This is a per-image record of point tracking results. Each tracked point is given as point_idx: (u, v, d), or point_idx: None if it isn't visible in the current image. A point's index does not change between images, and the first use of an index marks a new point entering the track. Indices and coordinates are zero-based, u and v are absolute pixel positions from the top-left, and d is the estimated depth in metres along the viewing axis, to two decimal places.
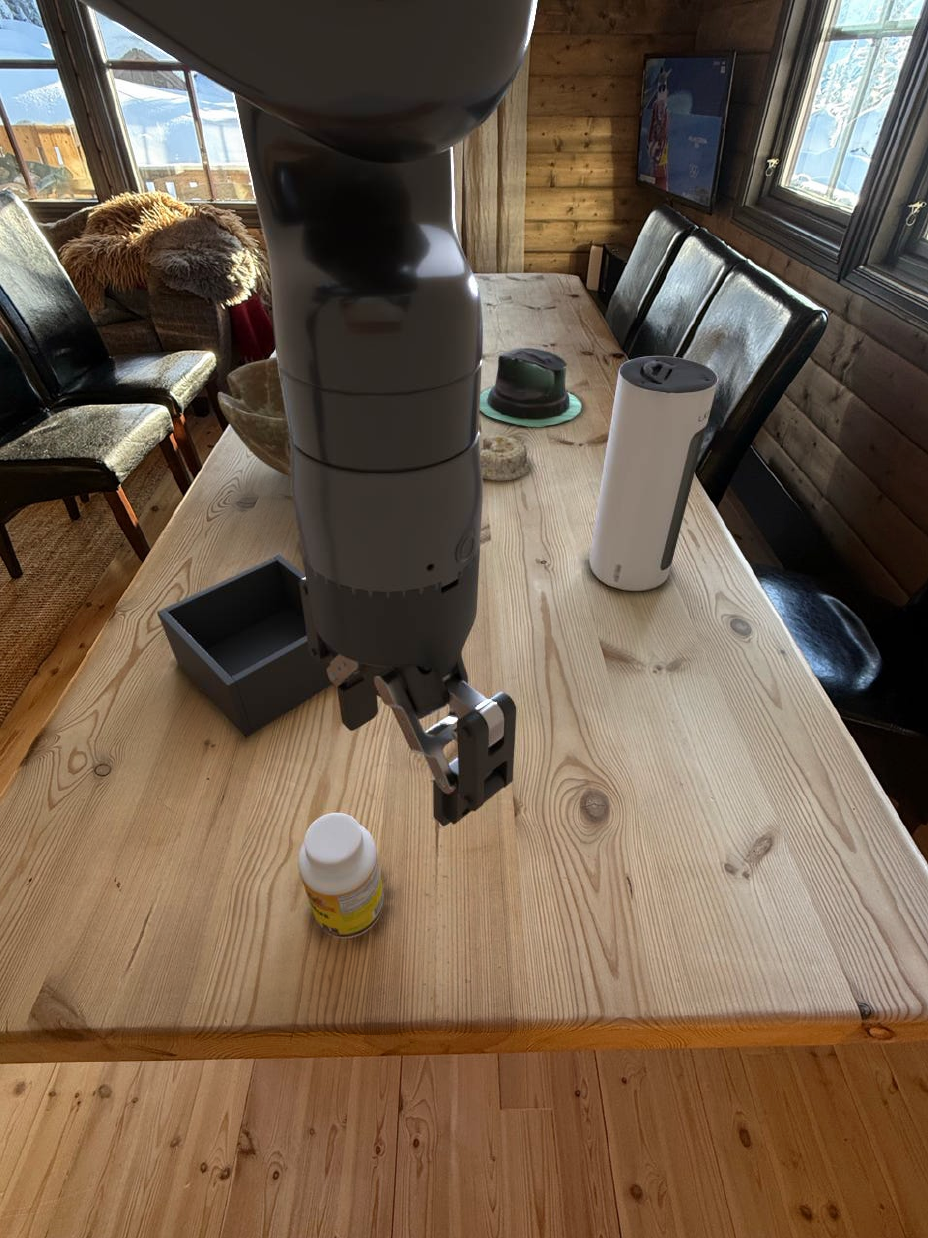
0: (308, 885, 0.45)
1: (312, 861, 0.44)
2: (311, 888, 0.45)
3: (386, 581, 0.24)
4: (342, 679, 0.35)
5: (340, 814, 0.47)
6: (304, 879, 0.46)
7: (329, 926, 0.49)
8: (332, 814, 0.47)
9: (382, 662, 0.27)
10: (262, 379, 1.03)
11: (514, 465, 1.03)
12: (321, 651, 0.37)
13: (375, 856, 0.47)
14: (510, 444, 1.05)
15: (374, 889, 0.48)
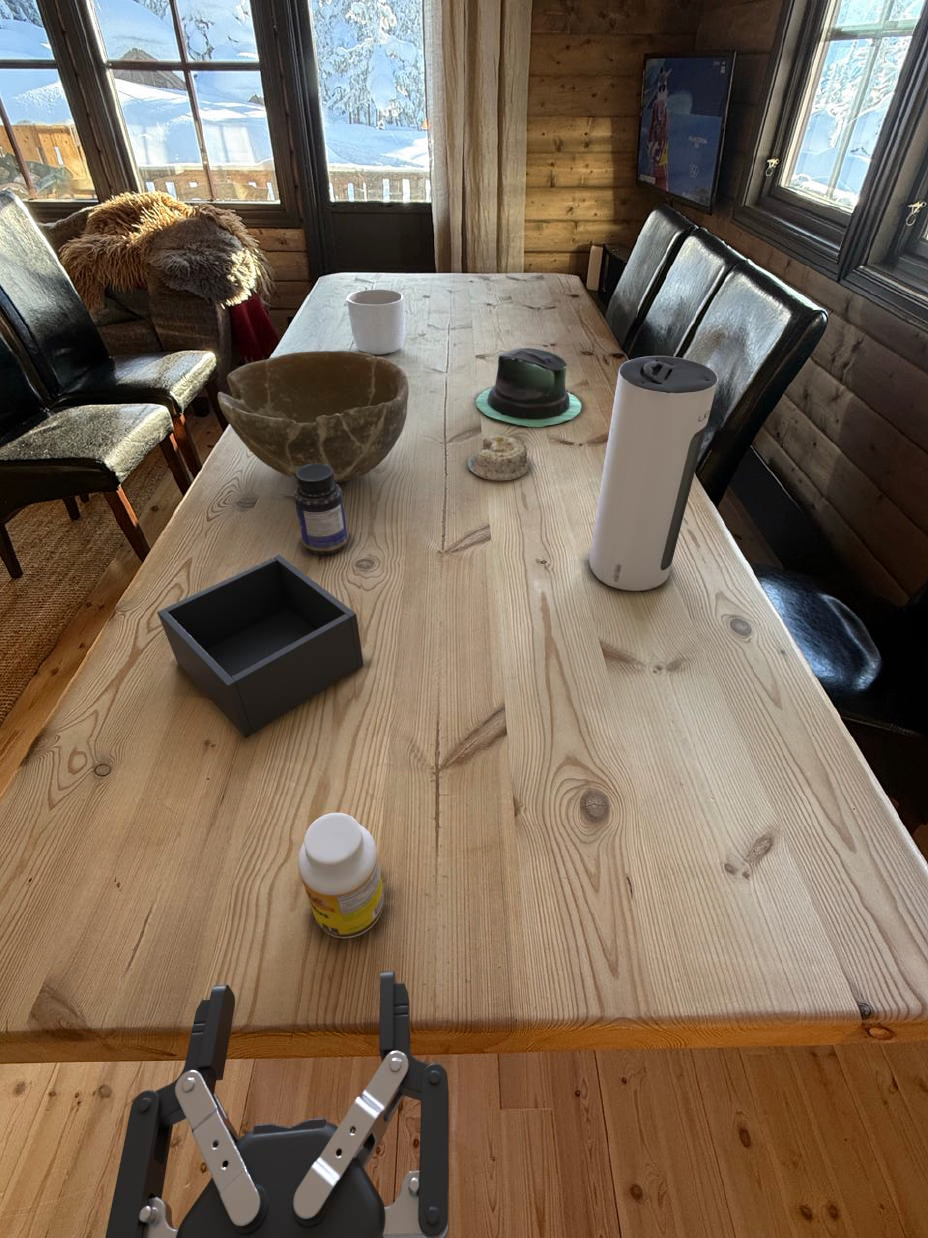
0: (308, 885, 0.45)
1: (312, 861, 0.44)
2: (311, 888, 0.45)
3: None
4: (350, 1111, 0.29)
5: (340, 814, 0.47)
6: (304, 879, 0.46)
7: (329, 926, 0.49)
8: (332, 814, 0.47)
9: None
10: (262, 379, 1.03)
11: (514, 465, 1.03)
12: (421, 1090, 0.30)
13: (375, 856, 0.47)
14: (510, 444, 1.05)
15: (374, 889, 0.48)
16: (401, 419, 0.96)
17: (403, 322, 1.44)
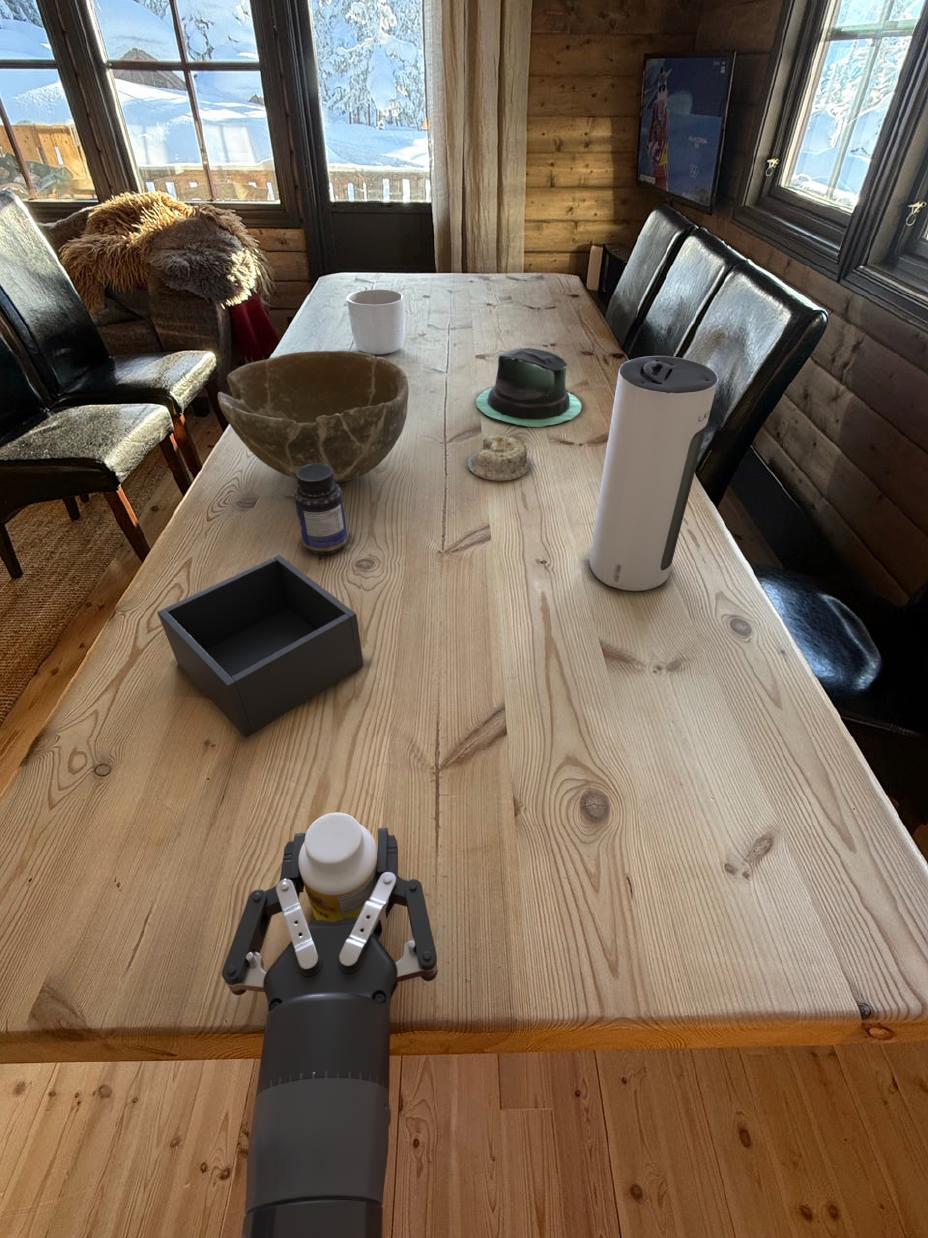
0: (308, 885, 0.45)
1: (313, 860, 0.44)
2: (311, 888, 0.45)
3: (262, 1101, 0.35)
4: (363, 908, 0.44)
5: (340, 814, 0.47)
6: (304, 879, 0.46)
7: None
8: (332, 814, 0.47)
9: (278, 1011, 0.39)
10: (262, 379, 1.03)
11: (514, 465, 1.03)
12: (406, 896, 0.45)
13: (375, 856, 0.47)
14: (510, 444, 1.05)
15: None
16: (401, 419, 0.96)
17: (403, 322, 1.44)
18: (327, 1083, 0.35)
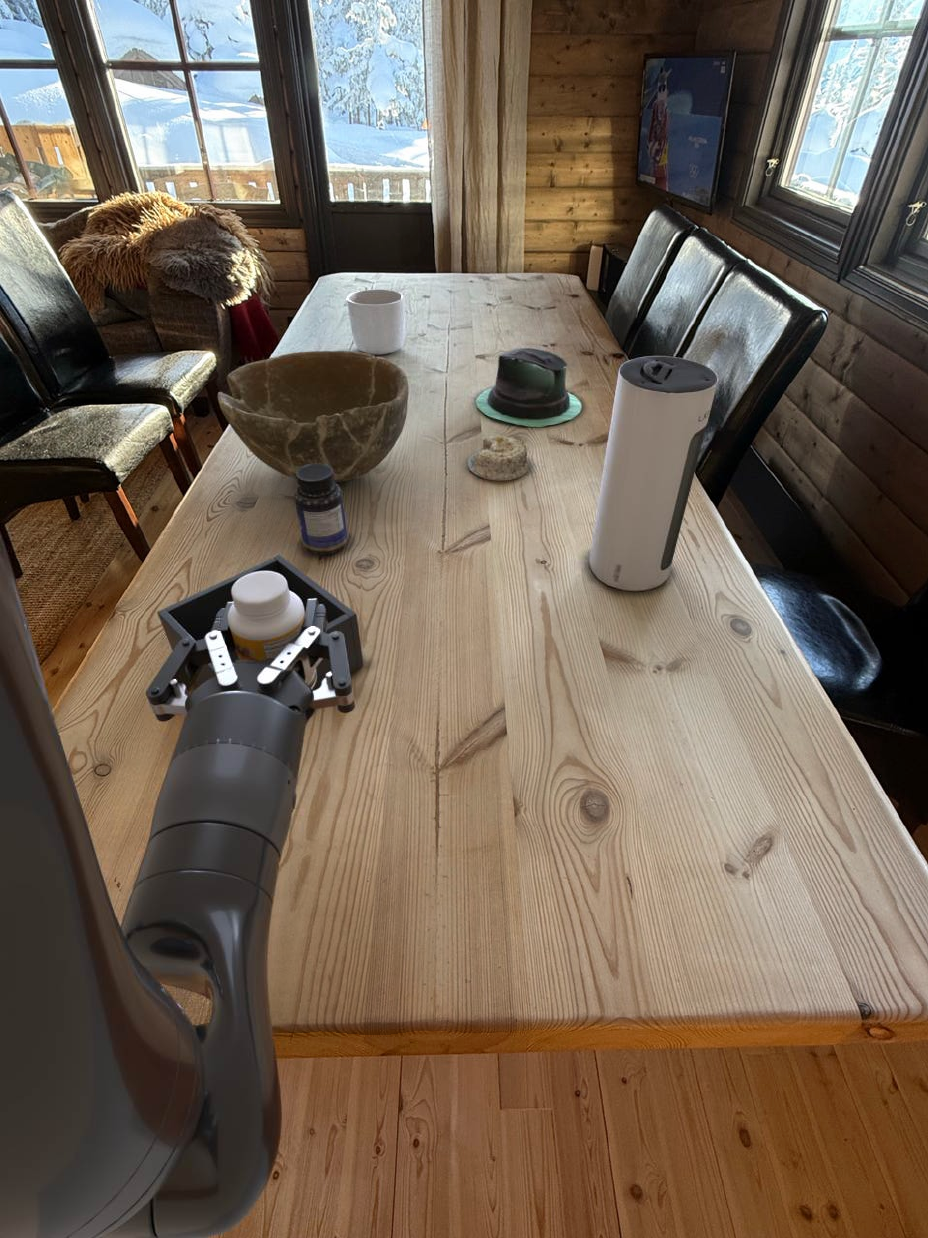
0: (235, 632, 0.48)
1: (238, 603, 0.47)
2: (238, 635, 0.47)
3: (170, 768, 0.38)
4: (285, 647, 0.46)
5: (268, 571, 0.49)
6: (232, 627, 0.48)
7: None
8: (261, 571, 0.49)
9: (192, 707, 0.41)
10: (262, 379, 1.03)
11: (514, 465, 1.03)
12: (328, 643, 0.48)
13: (302, 613, 0.49)
14: (510, 444, 1.05)
15: None
16: (401, 419, 0.96)
17: (403, 322, 1.44)
18: (230, 747, 0.37)
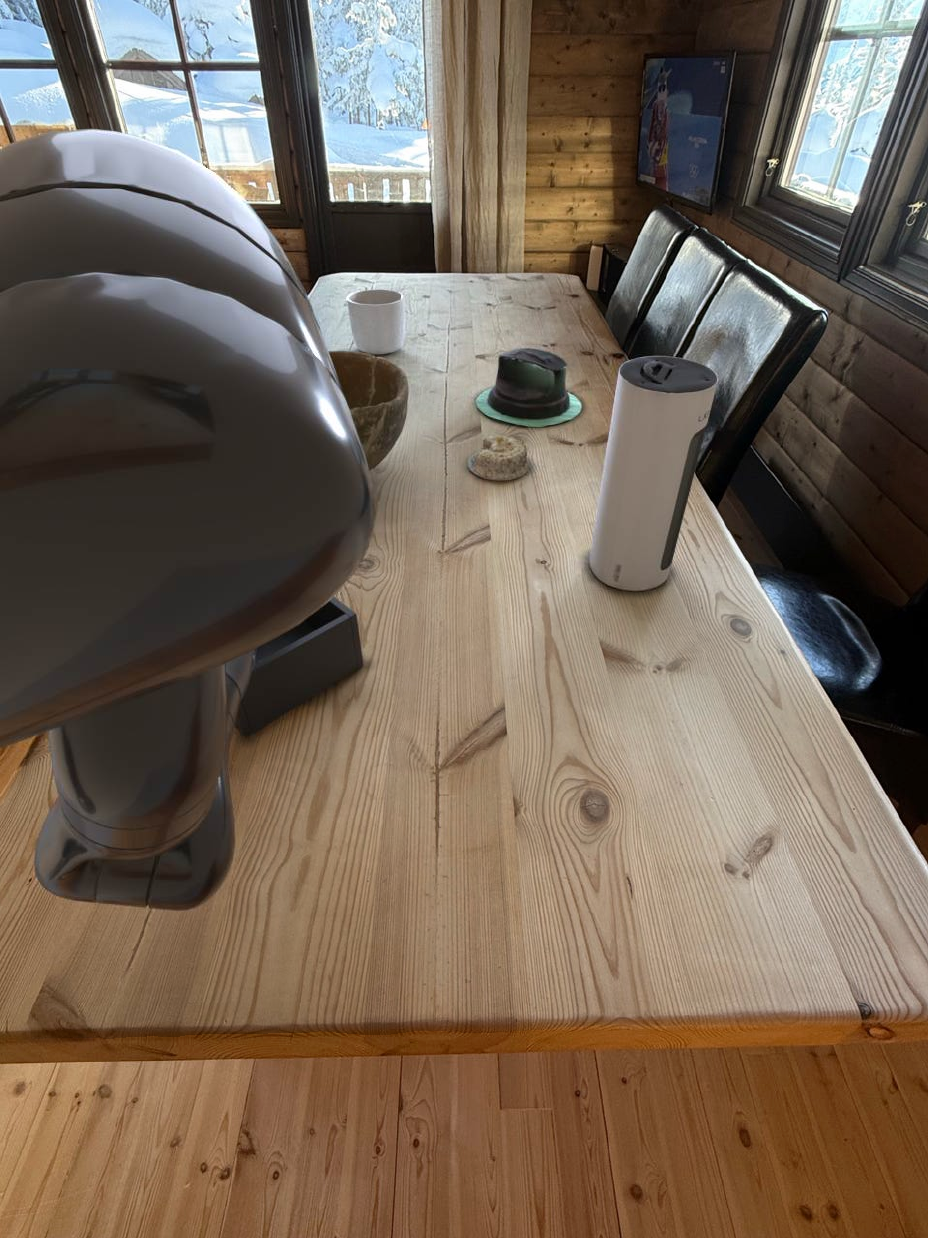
0: None
1: None
2: None
3: None
4: None
5: None
6: None
7: None
8: None
9: None
10: None
11: (514, 465, 1.03)
12: None
13: None
14: (510, 444, 1.05)
15: None
16: (401, 419, 0.96)
17: (403, 322, 1.44)
18: None
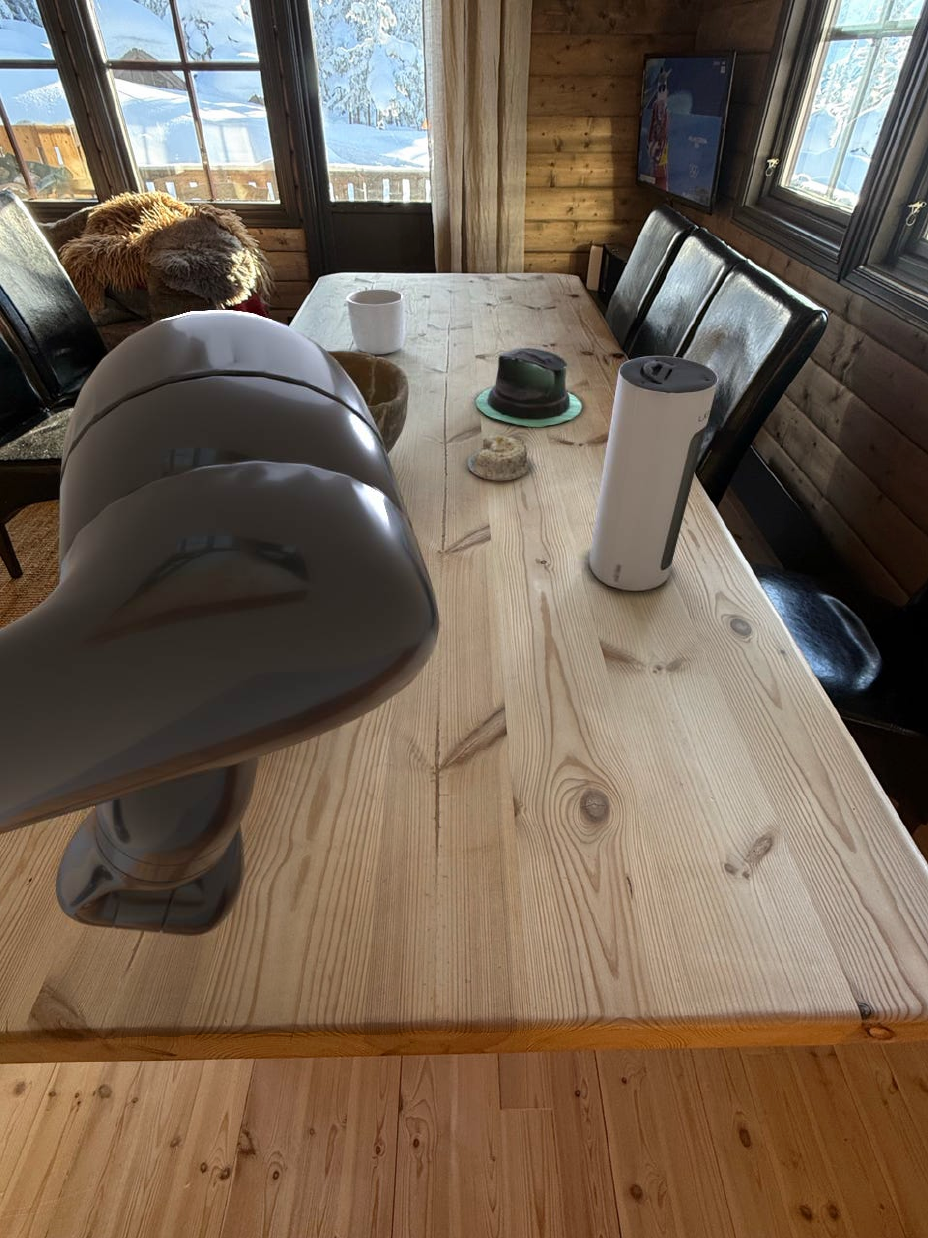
0: None
1: None
2: None
3: None
4: None
5: None
6: None
7: None
8: None
9: None
10: None
11: (514, 465, 1.03)
12: None
13: None
14: (510, 444, 1.05)
15: None
16: (401, 419, 0.96)
17: (403, 322, 1.44)
18: None
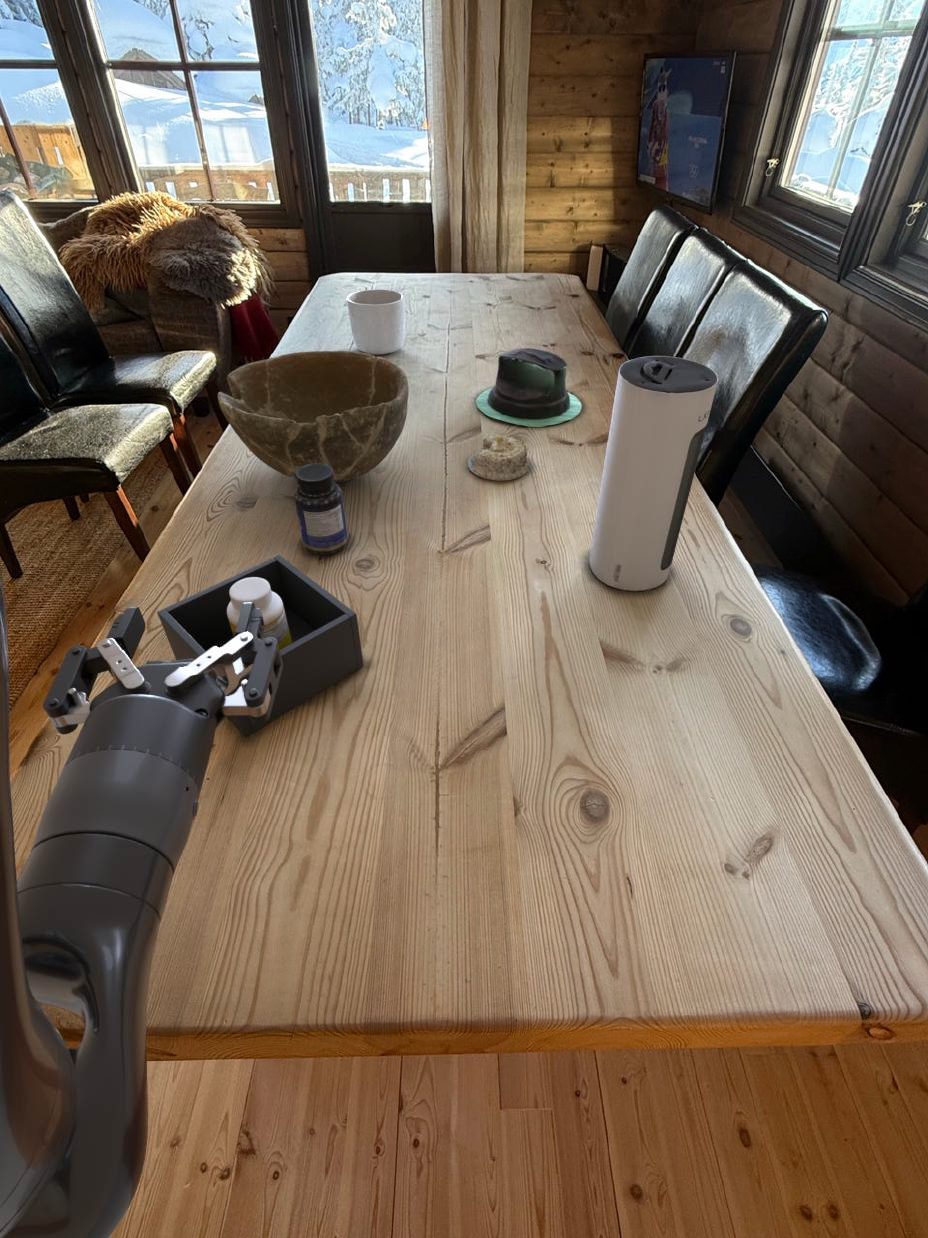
0: (232, 622, 0.65)
1: (234, 601, 0.64)
2: (234, 624, 0.65)
3: (60, 775, 0.36)
4: (208, 650, 0.45)
5: (256, 577, 0.67)
6: (230, 618, 0.66)
7: None
8: (250, 577, 0.67)
9: (91, 712, 0.39)
10: (262, 379, 1.03)
11: (514, 465, 1.03)
12: None
13: (281, 607, 0.67)
14: (510, 444, 1.05)
15: (281, 634, 0.68)
16: (401, 419, 0.96)
17: (403, 322, 1.44)
18: (122, 753, 0.36)
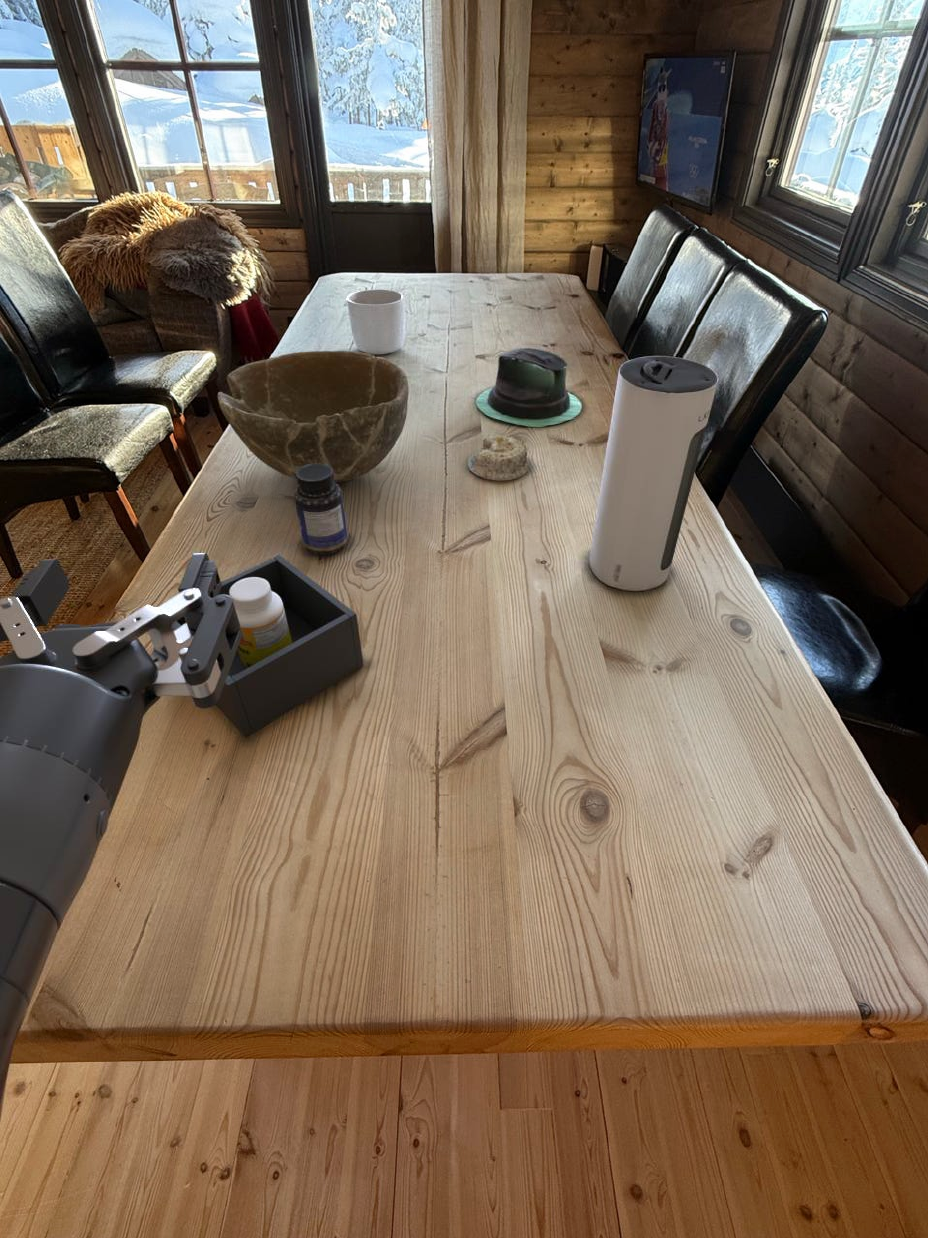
0: None
1: (234, 601, 0.64)
2: None
3: None
4: (138, 610, 0.33)
5: (256, 577, 0.67)
6: None
7: (251, 663, 0.69)
8: (250, 577, 0.67)
9: None
10: (262, 379, 1.03)
11: (514, 465, 1.03)
12: None
13: (281, 607, 0.67)
14: (510, 444, 1.05)
15: (281, 634, 0.68)
16: (401, 419, 0.96)
17: (403, 322, 1.44)
18: None
